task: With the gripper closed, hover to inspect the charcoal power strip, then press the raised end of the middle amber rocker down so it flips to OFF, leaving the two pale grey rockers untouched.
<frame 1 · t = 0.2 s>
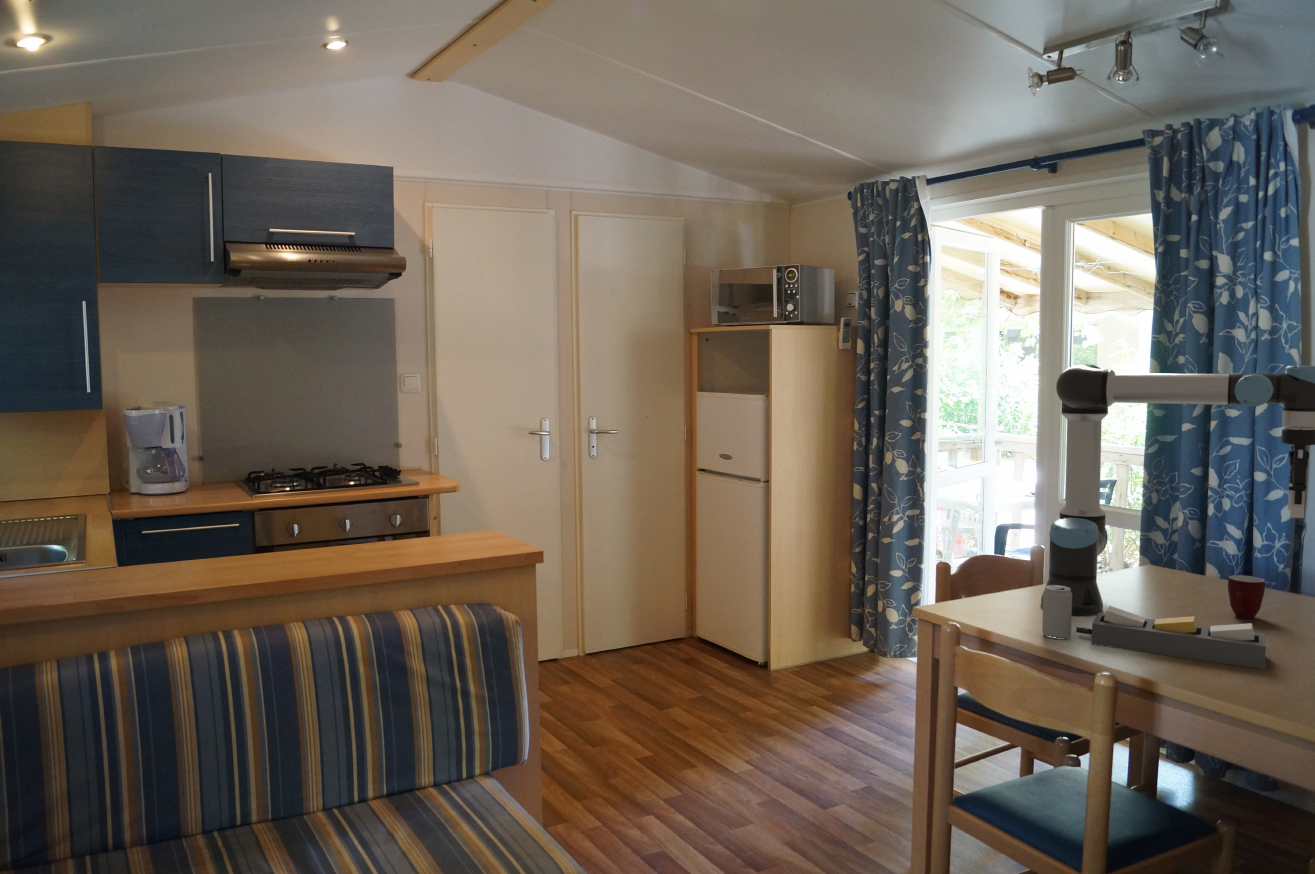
hand: (1295, 513, 233), 28 cm above the table, fingers open, 13 cm apart
rocker grey left: (1124, 618, 219), point 6 cm above the table, hinge at 13.0°
power strip: (1175, 649, 214), on the table
rocker amber: (1175, 625, 214), point 6 cm above the table, hinge at -13.0°
rocker grey right: (1232, 632, 208), point 6 cm above the table, hinge at -13.0°
mug: (1244, 618, 240), on the table
beverage can: (1056, 637, 225), on the table
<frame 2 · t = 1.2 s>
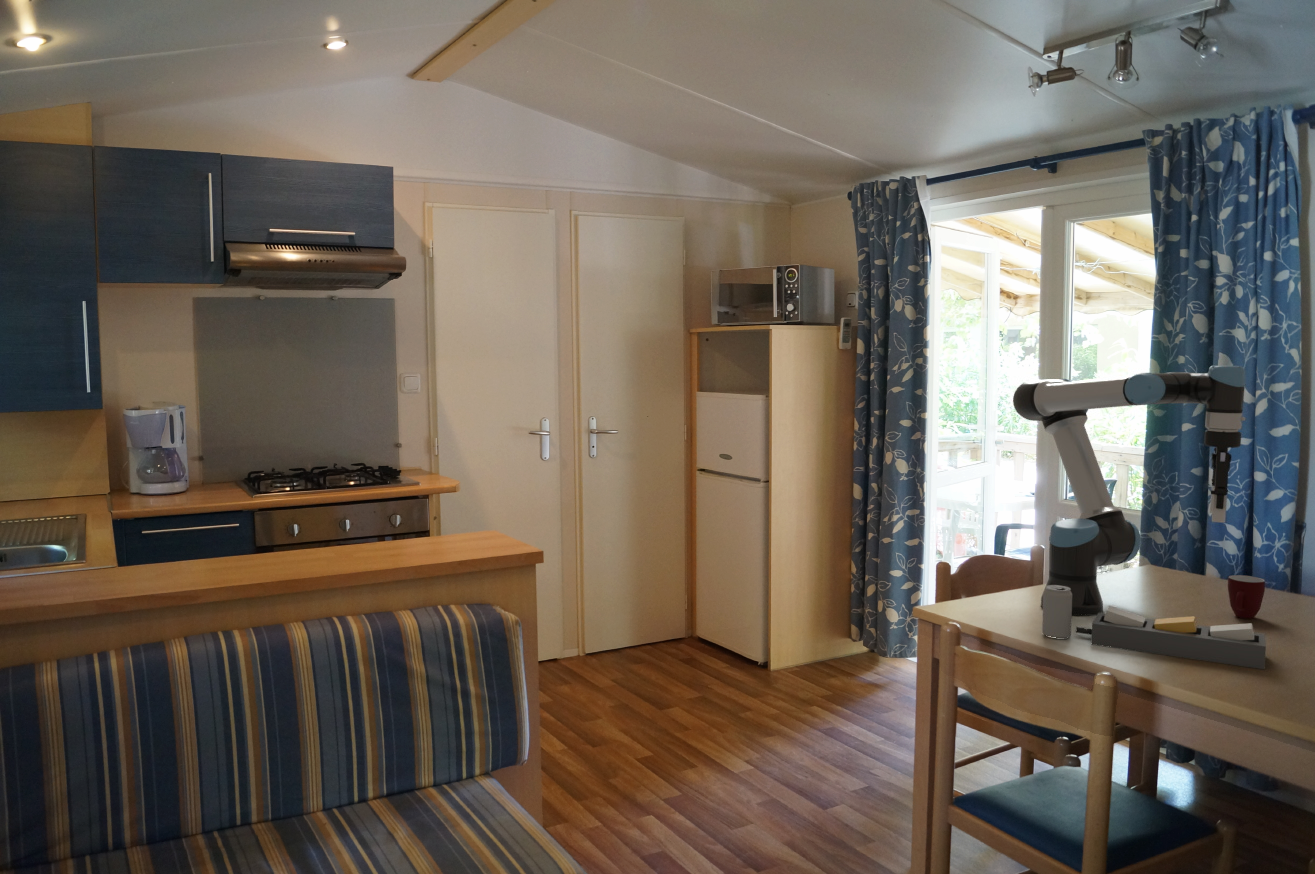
hand: (1217, 517, 227), 28 cm above the table, fingers open, 13 cm apart
nothing on the table moved.
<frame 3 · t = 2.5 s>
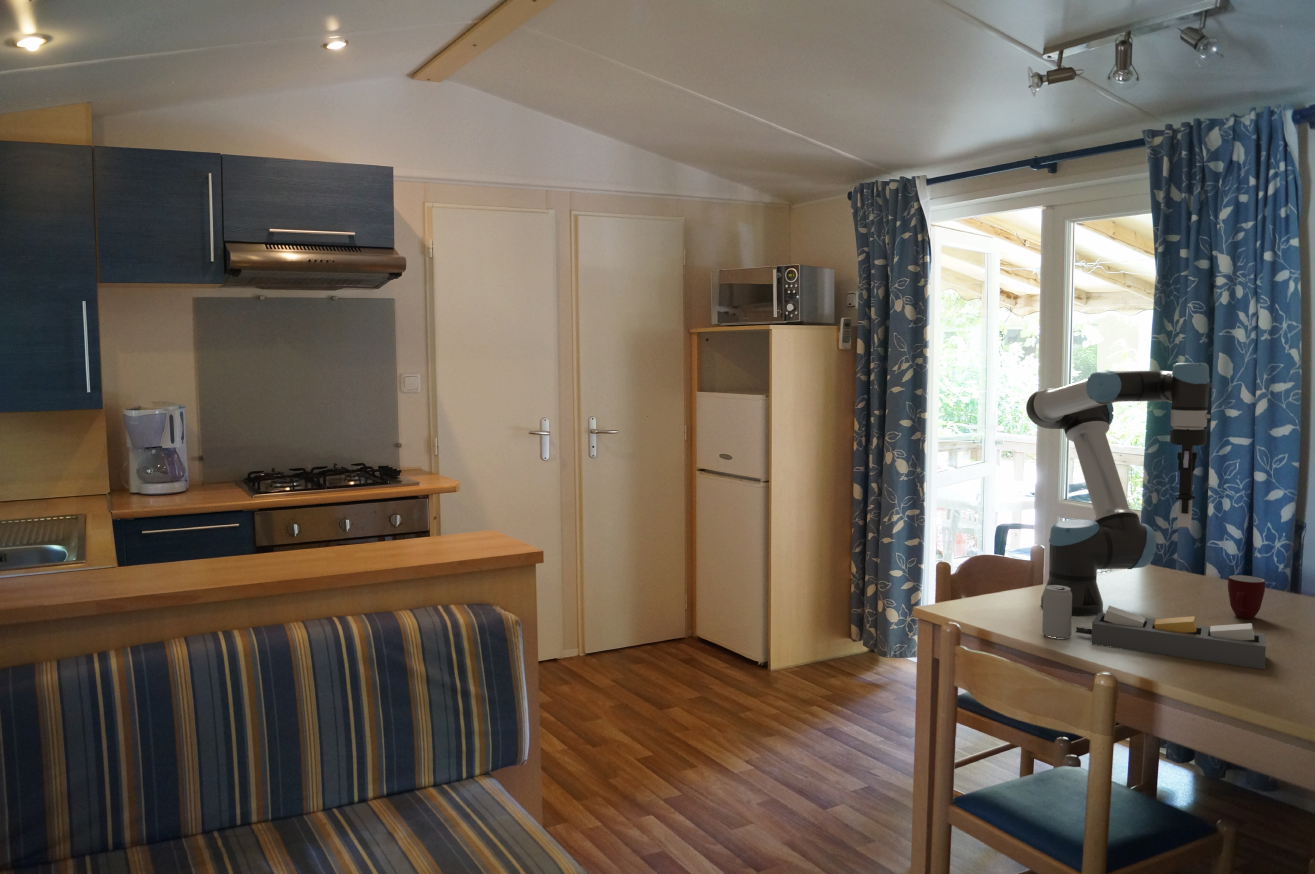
hand: (1184, 526, 224), 26 cm above the table, fingers closed
nothing on the table moved.
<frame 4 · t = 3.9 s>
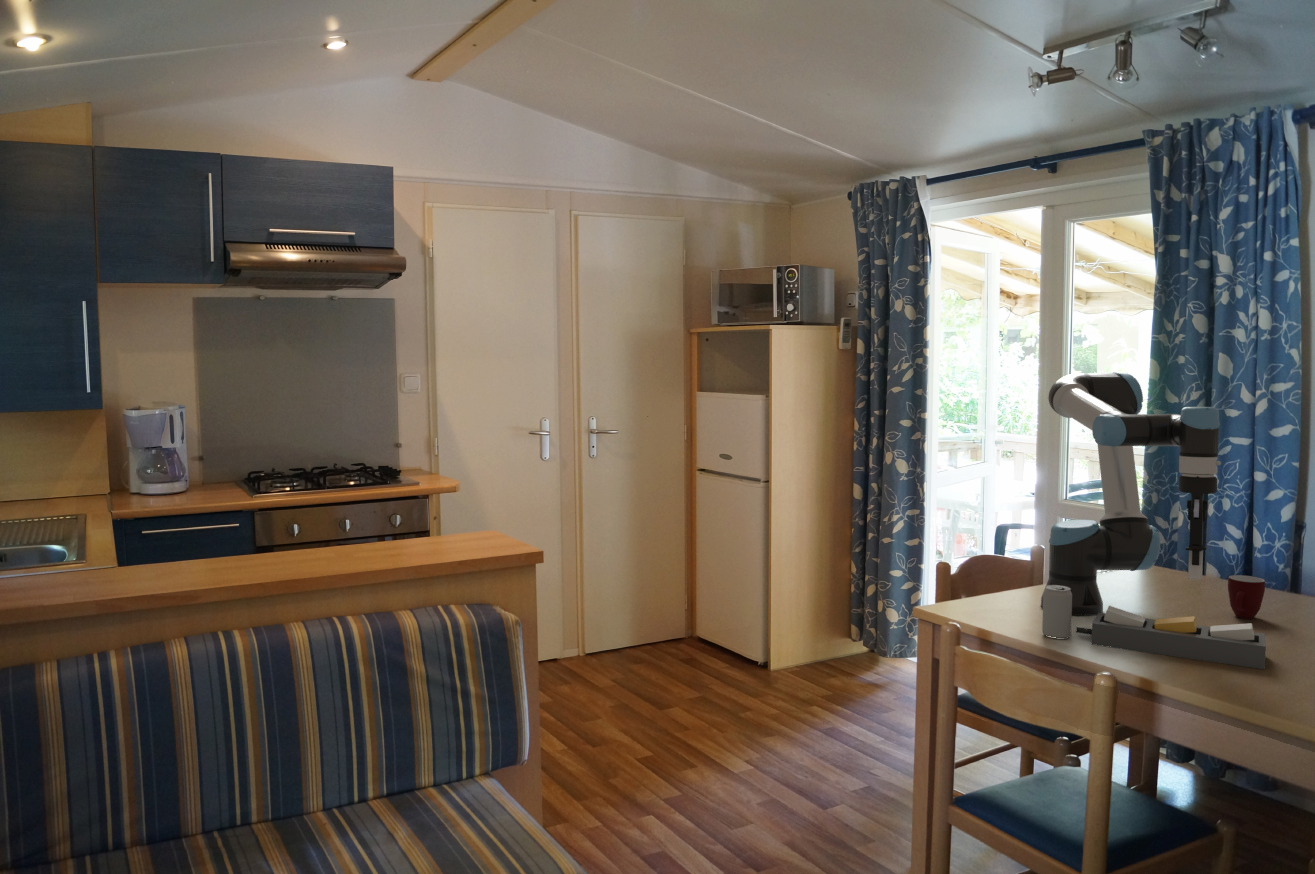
hand: (1195, 578, 212), 17 cm above the table, fingers closed
nothing on the table moved.
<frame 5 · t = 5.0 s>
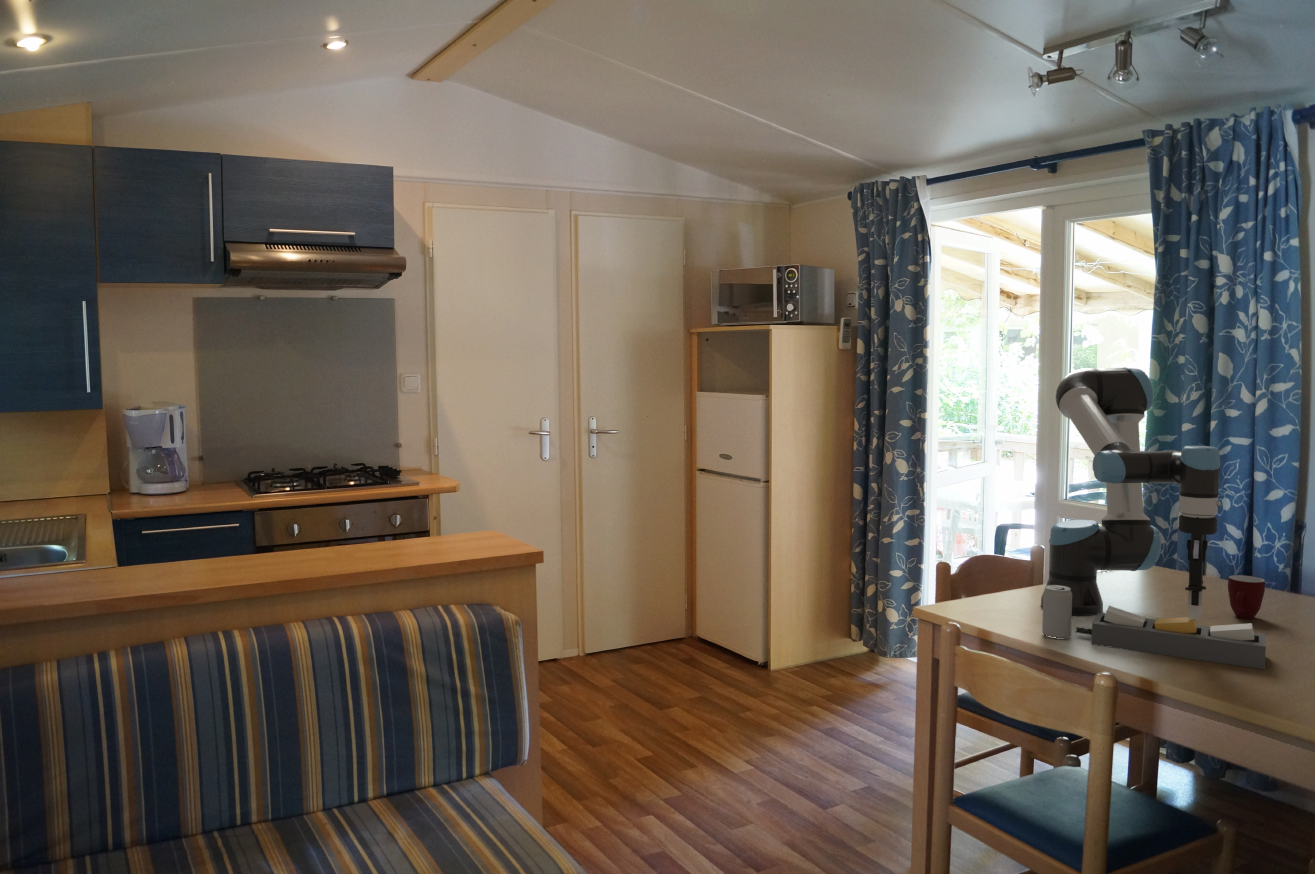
hand: (1194, 618, 212), 8 cm above the table, fingers closed
rocker amber: (1175, 625, 214), point 6 cm above the table, hinge at -11.1°, touching gripper
everything else where it was.
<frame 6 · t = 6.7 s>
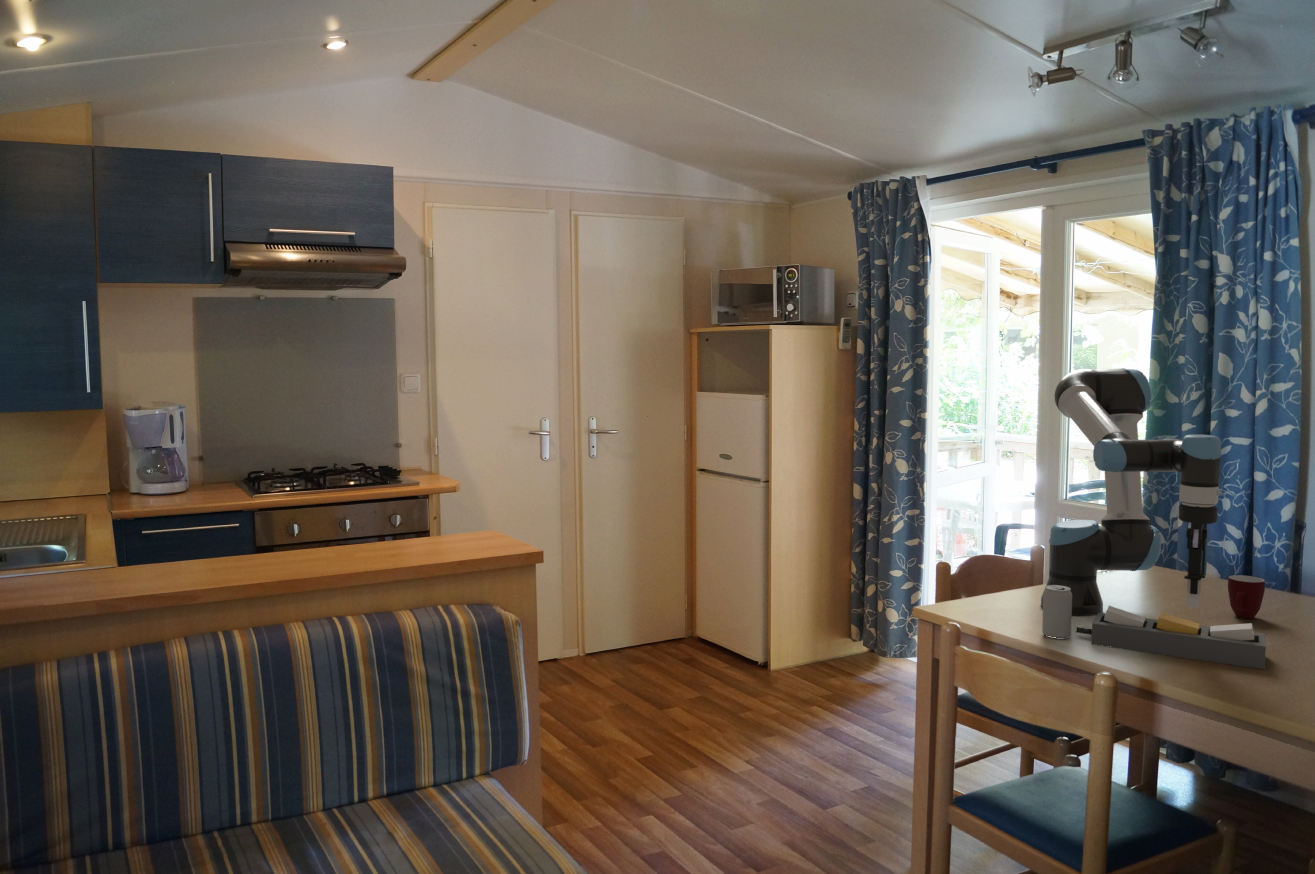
hand: (1193, 606, 212), 10 cm above the table, fingers closed
rocker amber: (1177, 625, 214), point 6 cm above the table, hinge at 10.2°
everything else where it was.
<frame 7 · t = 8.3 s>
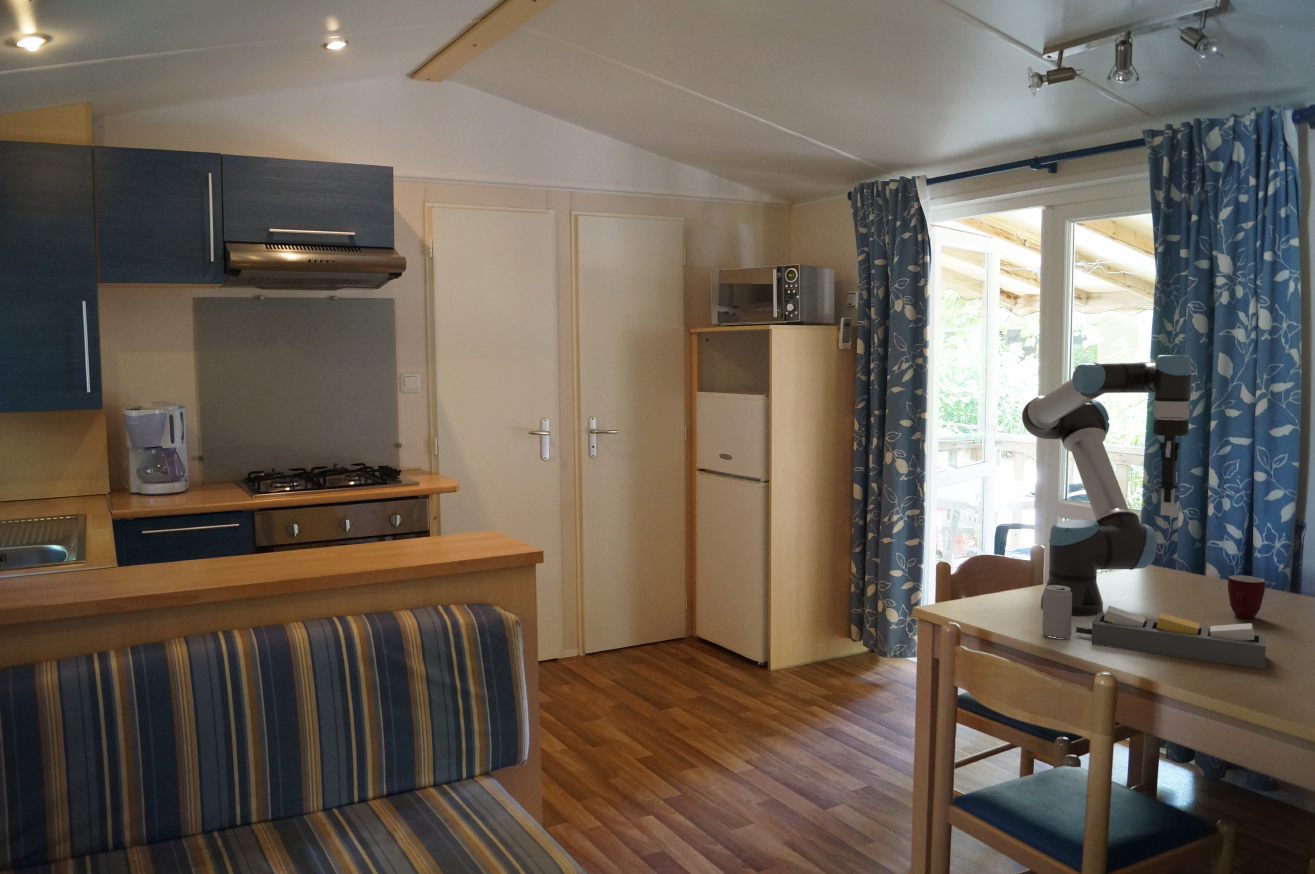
hand: (1167, 514, 229), 28 cm above the table, fingers closed
nothing on the table moved.
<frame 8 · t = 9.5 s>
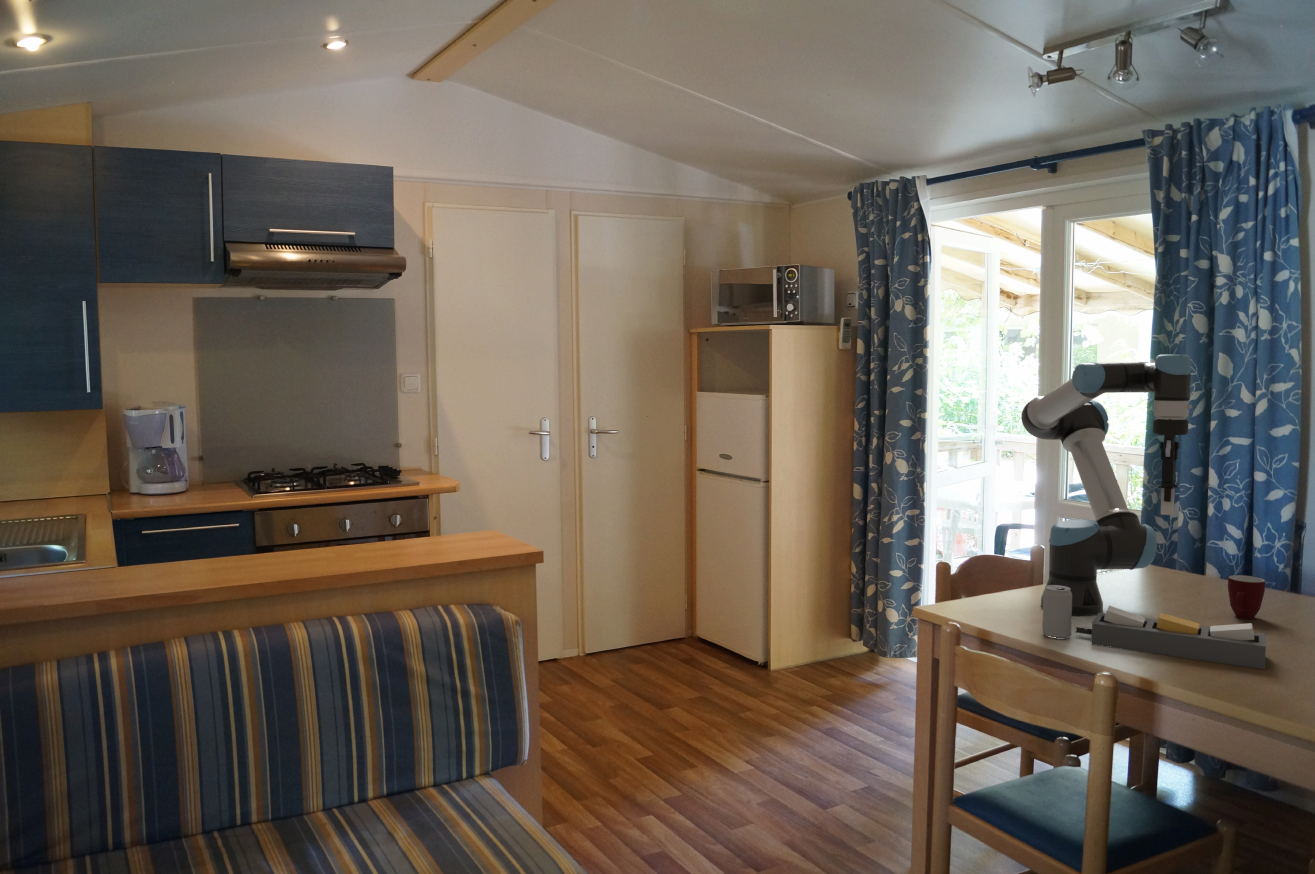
hand: (1167, 514, 229), 28 cm above the table, fingers closed
nothing on the table moved.
at the end: rocker amber at +10° (first picture: -13°); rocker grey right at -13° (first picture: -13°); rocker grey left at +13° (first picture: +13°) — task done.
